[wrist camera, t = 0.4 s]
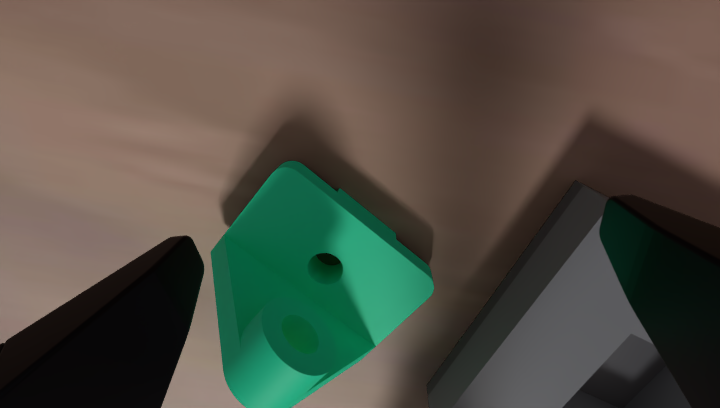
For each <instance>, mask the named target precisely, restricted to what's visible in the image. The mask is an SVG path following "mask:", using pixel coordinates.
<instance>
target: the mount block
mask: <svg viewBox="0 0 720 408" xmlns="http://www.w3.org/2000/svg"><path fill="white" fill-rule="evenodd" d="M608 199H609V197H607V196H605V195H603V194H601V193H599V192H597V191H596V190H594V189H592V188H590V187H588V186H586V185H584V184H582V183H580V182H578V181H575V182H574V183H573V185H572V186H571V188H570V189H569V190H568V192H567V193H566V194H565V196H564V197H563V199H562V200H561V201H560V203H559V204H558V205H557V207H556V208H555V210H554V211H553V212H552V214H551V215H550V216H549V218H548V219H547V221H546V222H545V223H544V225H543V226H542V227H541V229H540V230H539V232H538V233H537V234H536V236H535V237H534V239H533V240H532V241H531V243H530V244H529V245H528V247H527V248H526V250H525V251H524V252H523V254H522V255H521V256H520V258H519V259H518V261H517V262H516V263H515V265H514V266H513V267H512V269H511V270H510V272H509V273H508V274H507V276H506V277H505V278H504V280H503V281H502V283H501V284H500V285H499V287H498V288H497V289H496V291H495V292H494V294H493V295H492V296H491V298H490V299H489V300H488V302H487V303H486V305H485V306H484V307H483V309H482V310H481V311H480V313H479V314H478V316H477V317H476V318H475V320H474V321H473V322H472V324H471V325H470V327H469V328H468V329H467V331H466V332H465V334H464V335H463V336H462V338H461V339H460V340H459V342H458V343H457V345H456V346H455V347H454V349H453V350H452V351H451V353H450V354H449V356H448V357H447V358H446V360H445V361H444V362H443V364H442V365H441V367H440V368H439V369H438V371H437V372H436V373H435V375H434V376H433V378H432V379H431V380H430V382H429V383H428V384H427V394H428V403H429V408H691V406H690V405H689V403H688V401H687V400H686V398H685V396H684V395H683V393H682V391H681V390H680V388H679V386H678V385H677V383H676V381H675V380H674V378H673V376H672V374H671V373H670V371H669V369H668V368H667V366H666V364H665V363H664V361H663V359H662V358H661V356H660V354H659V353H658V351H657V349H656V348H655V346H654V344H653V343H652V341H651V339H650V338H649V336H648V334H647V333H646V331H645V329H644V328H643V326H642V324H641V323H640V321H639V319H638V318H637V316H636V314H635V312H634V311H633V309H632V307H631V305H630V304H629V302H628V300H627V298H626V295H625V293H624V291H623V289H622V287H621V285H620V282H619V280H618V278H617V276H616V273H615V271H614V269H613V267H612V264H611V262H610V260H609V258H608V256H607V253H606V251H605V249H604V247H603V244H602V242H601V240H600V235H599V229H600V224H601V220H602V216H603V212H604V208H605V204H606V201H607V200H608Z"/></svg>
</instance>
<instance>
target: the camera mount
mask: <svg viewBox="0 0 720 408" xmlns="http://www.w3.org/2000/svg"><path fill="white" fill-rule="evenodd" d="M320 253H329V254H332V255H334V256H336V257H337V258H338V259H339V260H340V261H341V263H340V264H337V265H327V264H324V263H322V262H321V261H320V260H319V259H318V258H317V256H316V255H317V254H320ZM211 259H212V269H213V278H214V287H215V297H216V306H217V316H218V325H219V334H220V344H221V353H222V363H223V371H224V376H225V380H226V382H227V385H228V387H229V389H230V390H231V392H232V393H233V395H234V396H235V397H236V399H237V400H238V401H239V402H240V403H241V404H243V405H244V406H245V407H246V408H291V407H293V406H294V405H296V404H297V403H299V402H300V401H301V400H303V399H304V398H306V397H307V396H309V395H310V394H312V393H313V392H315V391H316V390H318V389H319V388H321V387H322V386H323V385H325V384H326V383H328V382H329V381H331V380H332V379H334V378H335V377H337V376H338V375H340V374H341V373H343V372H344V371H345V370H347V369H348V368H350V367H351V366H353V365H354V364H356V363H357V362H359V361H360V360H361V359H362V358H364V357H365V356H366V355H367V354H368V353H369V352H370V351H371V350H372V349H373V348H375V347H376V346H377V345H378V344H379V343H380V342H381V341H382V340H383V339H384V338H386V337H387V336H388V335H389V334H390V333H391V332H392V331H393V330H394V329H395V328H396V327H398V326H399V325H400V324H401V323H402V322H403V321H404V320H405V319H406V318H407V317H409V316H410V315H411V314H412V313H413V312H414V311H415V310H416V309H417V308H418V307H420V306H421V305H422V304H423V303H424V302H425V301H426V300H427V299H428V298H429V297H430V296H431V295H432V293H433V291H434V283H433V278H432V273H431V269H430V267H429V266H428V265H427V264H426V263H425V262H424V261H422V260H421V259H420V258H419V257H417V256H416V255H415V254H414V253H412V252H411V251H410V250H409V249H407V248H406V247H405V246H404V245H403V244H401V243H400V242H399V241H398V240H396V233H395V232H394V231H392V230H391V229H390V228H389V227H387V226H386V225H385V224H384V223H382V222H381V221H380V220H379V219H377V218H376V217H375V216H374V215H373V214H371V213H370V212H369V211H368V210H366V209H365V208H364V207H363V206H361V205H360V204H359V203H358V202H357V201H355V200H354V199H353V198H352V197H350V196H349V195H348V194H347V193H345V192H344V191H343V190H342V189H340V188H339V189H338V190H337V191H335V190H334V189H333V188H332V187H331V186H329V185H328V184H327V183H326V182H324V181H323V180H322V179H321V178H319V177H318V176H317V175H316V174H314V173H313V172H312V171H311V170H309V169H308V168H307V167H306V166H304V165H303V164H302V163H300V162H297V161H287V162H284V163H283V164H281V165H280V166H279V167H278V168H277V169H276V170H275V171H274V172H273V173H272V174H271V175H270V176H269V178H268V179H267V180H266V182H265V183H264V184H263V185H262V187H261V188H260V189H259V191H258V192H257V193H256V194H255V196H254V197H253V198H252V200H251V201H250V202H249V203H248V205H247V206H246V207H245V209H244V210H243V211H242V212H241V214H240V215H239V216H238V217H237V219H236V220H235V221H234V223H233V224H232V225H231V226H230V228H229V229H228V230H227V232H226V233H225V234H224V235H223V237H222V238H221V239H220V241H219V242H218V243H217V244H216V246H215V247H214V248H213V250H212V251H211Z"/></svg>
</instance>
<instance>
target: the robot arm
mask: <svg viewBox="0 0 720 408" xmlns="http://www.w3.org/2000/svg"><path fill="white" fill-rule="evenodd" d="M599 235H600V240H601V242H602V244H603V247H604V249H605V251H606V253H607V256H608V258H609V260H610V262H611V264H612V267H613V269H614V271H615V273H616V276H617V278H618V280H619V282H620V285H621V287H622V289H623V291H624V293H625V295H626V298H627V300H628V302H629V304H630V305H631V307H632V309H633V311H634V312H635V314H636V316H637V318H638V319H639V321H640V323H641V324H642V326H643V328H644V329H645V331H646V333H647V334H648V336H649V338H650V339H651V341H652V343H653V344H654V346H655V348H656V349H657V351H658V353H659V354H660V356H661V358H662V359H663V361H664V363H665V364H666V366H667V368H668V369H669V371H670V373H671V374H672V376H673V378H674V380H675V381H676V383H677V385H678V386H679V388H680V390H681V391H682V393H683V395H684V396H685V398H686V400H687V401H688V403H689V405H690V406H691V408H720V228H719V227H716V226H713V225H711V224H708V223H705V222H703V221H700V220H697V219H695V218H692V217H690V216H687V215H684V214H682V213H679V212H676V211H674V210H671V209H669V208H666V207H663V206H661V205H658V204H655V203H653V202H650V201H648V200H645V199H642V198H640V197H637V196H634V195H621V196H612V197H610V198H609V199H608V200H607V201H606V204H605V208H604V212H603V216H602V220H601V224H600V229H599ZM203 274H204V264H203V261H202V258H201V256H200V254H199V252H198V250H197V248H196V246H195V244H194V242H193V240H192V238H191V237H189V236H175V237H170V238H168V239H166V240H165V241H163V242H162V243H160V244H158V245H157V246H155V247H154V248H152V249H150V250H149V251H147V252H146V253H144V254H143V255H141V256H139V257H138V258H136V259H135V260H133V261H131V262H130V263H128V264H127V265H125V266H124V267H122V268H120V269H119V270H117V271H116V272H114V273H112V274H111V275H109V276H108V277H106V278H104V279H103V280H101V281H100V282H98V283H97V284H95V285H93V286H92V287H90V288H89V289H87V290H85V291H84V292H82V293H81V294H79V295H78V296H76V297H74V298H73V299H71V300H70V301H68V302H66V303H65V304H63V305H62V306H60V307H58V308H57V309H55V310H54V311H52V312H51V313H49V314H47V315H46V316H44V317H43V318H41V319H39V320H38V321H36V322H35V323H33V324H32V325H30V326H28V327H27V328H25V329H24V330H22V331H20V332H19V333H17V334H16V335H14V336H13V337H11V338H9V339H8V340H7V341H6V342H5V343H2V344H0V408H161V406H162V403H163V401H164V398H165V395H166V393H167V390H168V387H169V385H170V382H171V379H172V376H173V374H174V371H175V368H176V366H177V363H178V360H179V357H180V355H181V352H182V349H183V347H184V344H185V341H186V338H187V335H188V332H189V329H190V326H191V322H192V318H193V314H194V310H195V306H196V302H197V298H198V294H199V290H200V286H201V282H202V278H203Z"/></svg>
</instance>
